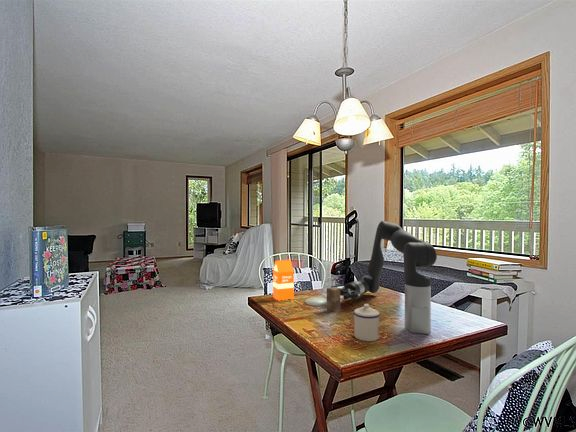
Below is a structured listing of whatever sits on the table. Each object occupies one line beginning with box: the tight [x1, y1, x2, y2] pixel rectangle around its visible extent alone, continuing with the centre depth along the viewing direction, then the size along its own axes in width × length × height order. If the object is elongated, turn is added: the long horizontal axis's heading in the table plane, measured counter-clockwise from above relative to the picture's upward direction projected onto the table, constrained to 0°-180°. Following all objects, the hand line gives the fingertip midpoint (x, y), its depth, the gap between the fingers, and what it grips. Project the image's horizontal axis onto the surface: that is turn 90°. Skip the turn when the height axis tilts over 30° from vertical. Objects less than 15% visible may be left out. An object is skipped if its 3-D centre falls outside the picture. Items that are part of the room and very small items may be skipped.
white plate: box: [305, 296, 327, 307], centre depth 156 cm, size 11×11×1 cm
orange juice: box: [272, 259, 295, 302], centre depth 165 cm, size 8×9×20 cm
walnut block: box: [326, 286, 341, 313], centre depth 145 cm, size 4×4×10 cm
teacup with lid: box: [353, 303, 381, 342], centre depth 114 cm, size 12×9×12 cm
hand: (336, 295), depth 146 cm, fingers open, 8 cm apart
